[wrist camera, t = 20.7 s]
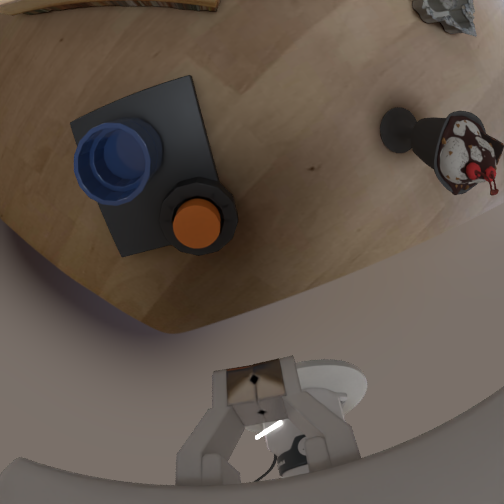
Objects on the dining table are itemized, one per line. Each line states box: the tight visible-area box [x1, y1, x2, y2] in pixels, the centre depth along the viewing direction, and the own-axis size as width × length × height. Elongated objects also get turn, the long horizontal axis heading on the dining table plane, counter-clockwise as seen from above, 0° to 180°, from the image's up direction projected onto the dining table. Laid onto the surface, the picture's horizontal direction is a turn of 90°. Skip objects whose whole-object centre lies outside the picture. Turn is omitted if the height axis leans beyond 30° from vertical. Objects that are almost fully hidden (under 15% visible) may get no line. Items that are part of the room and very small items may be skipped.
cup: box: [74, 118, 163, 206], centre depth 21 cm, size 6×6×5 cm
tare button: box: [173, 199, 220, 248], centre depth 25 cm, size 4×4×2 cm
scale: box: [70, 75, 238, 257], centre depth 24 cm, size 16×13×3 cm
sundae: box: [380, 108, 504, 195], centre depth 18 cm, size 7×7×15 cm
